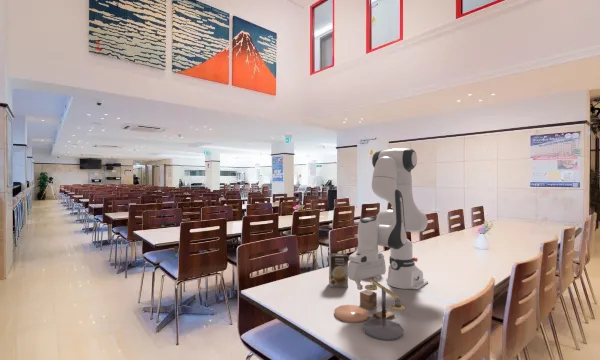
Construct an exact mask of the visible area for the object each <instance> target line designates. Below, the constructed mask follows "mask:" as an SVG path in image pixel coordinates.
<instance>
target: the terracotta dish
mask: <svg viewBox="0 0 600 360" xmlns="http://www.w3.org/2000/svg"><path fill="white" fill-rule="evenodd" d="M333 311H334V313H333V315H334V316H335V318H336V319H338V320H339V321H342V322H345V323H351V324H355V323H364V322H366V321H367V320H369V319H370V311H369V309H366V308H364V307H362V306H360V305H356V304H343V305H339V306H337V307H335V308H334V310H333Z"/></svg>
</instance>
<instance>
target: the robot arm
mask: <svg viewBox="0 0 600 360" xmlns="http://www.w3.org/2000/svg"><path fill="white" fill-rule="evenodd" d="M417 162H418V155H417V152H416V151H415V150H414V149H412V148H409V147H408V148H406V147H405V148H392V149H385V150H378V151H375V152H374V154H373V155H372V158H371V164H372V167H373V168H374V169H373V173H372V179H371V190H372V192H373V194H374V195H376V196H377V197H379V198H380V199H383V200H385V201H387V202H388V203H389V204H390V205H391V208H392V209H383V210H379V212H378V213H377V216H376V218H375V217H372V216H371V217H370V216H369V217H363V218H360V219H359V221H358V224H357V242H358V244H357V248H356V249H357V250H355V251H354V252H353V253H351V254H350V255H348V280H351V281H354V282H355V284H356V289H357V290H358V291H362V290H363V287H364V286H363V285H362V284H361V282H362V280H364V279H369V278H370V279H371V278H373V279H374V280H375V281H377V282H378V283H379V279H380V276H383V275H385V274H386V271H387V269H386V260H385V255H384V254H383V253H382V252H379V247H387V248H389V251H390V253H389V254H390V256H389V258H388V259H389V265H388V271H387V272H388V273H387V277H386V282H387V283H386V284H388V286H390V287H393V288H397V289H402V290H403V289H405V290H408V289H409V290H419V289H421V288H422V287H424V286H425V285H427V284H428V283H429V280H428V279H425V278H424V273H423V270H422V269H420V268H419V267H418V266H417V265H416V263H417V262H418V260H419V259H418V257H413V243H412V241H410V239H408V237H407V232H410V233H417V232H418V233H419V232H424V231H425V230H426V229H427V227H428V224H429V223H428V222H429V221H428V220H429V219H428V217H427V215H426V214H425V213H424V212H423V211H422V210H420V209H419V207H418V206H417V204H416V202H415V201H414V197H413V180H412V178H413V177H412V170H414V168H415V167H416V166H417ZM415 262H416V263H415ZM371 285H375V284H374V283H372V282H371ZM375 286H377V285H375ZM377 287H378V286H377Z"/></svg>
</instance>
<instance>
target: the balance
mask: <svg viewBox="0 0 600 360" xmlns="http://www.w3.org/2000/svg"><path fill="white" fill-rule="evenodd" d="M369 281H370V283H371V284H366V285H364V289H366V290H370V291H377V290H378V288H379V289H380V290H381V310H380V311H377V312H375V313H373V314H372V317H373V319H387V320H391V319H393V318H395V317H396V315H395V313H393V312H391V311H388V310H387V294H388V295H389V296H391V297H392V298H394V299H395V300H394V303H391V305H390V308H391V309H392V310H394V311H404V310H405V309H406V307H405V305H404V304H402V300H400V297H399V295H397V294H396V293H394V292H392V291H391V290H389V289H388V288H387V287H385V286H384V285H382V284H381V283H380V282H379V281H378V282H377V281H375V280H374V278H370V279H369ZM372 283H374V284H375V285H377V286H375V285H372Z"/></svg>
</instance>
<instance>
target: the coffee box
mask: <svg viewBox="0 0 600 360" xmlns="http://www.w3.org/2000/svg"><path fill="white" fill-rule="evenodd" d="M328 257H329V259H328V261H329V263H328V264H329V265H328V267H329V269H328V270H329V271H328V279H329V280H328V285H329V287H330V288H349V277H348V265H349V255H348V254H347V253H329V256H328Z"/></svg>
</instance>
